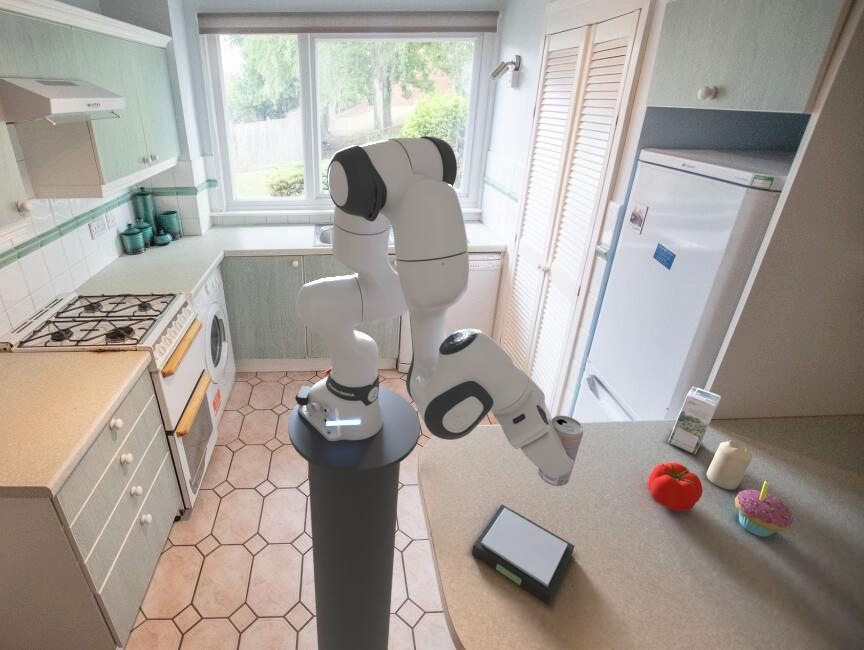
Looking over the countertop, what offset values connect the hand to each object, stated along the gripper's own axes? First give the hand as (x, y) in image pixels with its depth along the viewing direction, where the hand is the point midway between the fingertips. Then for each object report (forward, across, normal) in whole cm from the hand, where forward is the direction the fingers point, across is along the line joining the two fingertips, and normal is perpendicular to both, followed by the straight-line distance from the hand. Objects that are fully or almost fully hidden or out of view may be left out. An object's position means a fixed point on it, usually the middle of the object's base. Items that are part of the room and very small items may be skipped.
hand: (563, 450), depth 80 cm
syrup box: (+42, -28, +14) cm, 52 cm away
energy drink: (+4, 0, -5) cm, 7 cm away
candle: (+43, -17, +16) cm, 49 cm away
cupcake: (+43, -5, +16) cm, 46 cm away
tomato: (+33, -10, +6) cm, 35 cm away
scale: (+10, +7, -18) cm, 21 cm away
